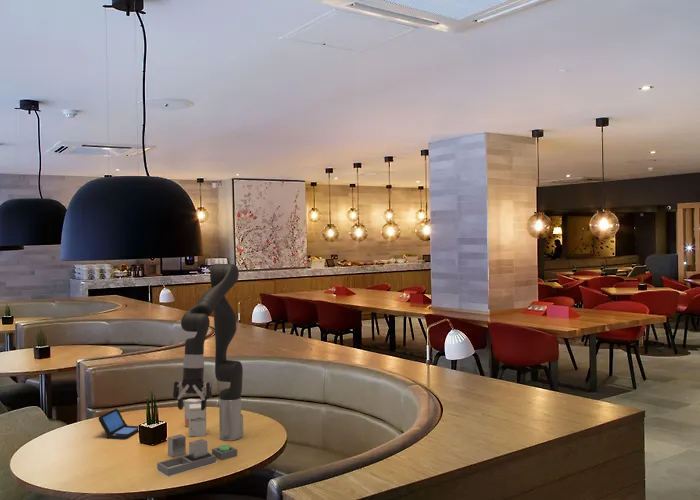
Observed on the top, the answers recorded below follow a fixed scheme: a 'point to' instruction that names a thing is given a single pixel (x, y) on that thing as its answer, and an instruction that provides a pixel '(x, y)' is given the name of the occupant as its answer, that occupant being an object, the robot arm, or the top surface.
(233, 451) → the button housing
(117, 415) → the handheld game console
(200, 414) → the supplement box
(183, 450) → the billet
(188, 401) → the skincare box
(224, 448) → the button
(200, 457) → the seated billet
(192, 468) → the pocket tray
